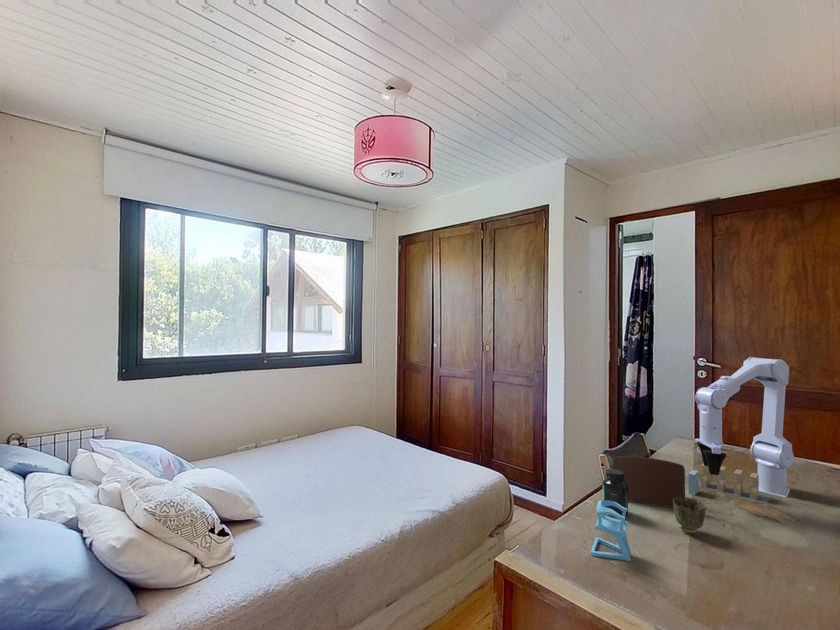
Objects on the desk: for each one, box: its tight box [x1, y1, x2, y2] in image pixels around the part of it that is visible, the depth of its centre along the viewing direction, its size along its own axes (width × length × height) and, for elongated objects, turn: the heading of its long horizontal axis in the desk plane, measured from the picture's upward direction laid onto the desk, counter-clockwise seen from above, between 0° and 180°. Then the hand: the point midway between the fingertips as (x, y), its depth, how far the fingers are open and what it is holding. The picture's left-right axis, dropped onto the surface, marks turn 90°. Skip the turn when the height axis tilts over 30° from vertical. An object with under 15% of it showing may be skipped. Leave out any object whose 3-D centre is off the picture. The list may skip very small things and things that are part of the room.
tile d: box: [748, 472, 760, 501], centre depth 129 cm, size 2×5×7 cm, turn 132°
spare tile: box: [688, 469, 699, 496], centre depth 133 cm, size 2×5×7 cm, turn 132°
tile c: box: [733, 469, 744, 497], centre depth 132 cm, size 2×5×7 cm, turn 133°
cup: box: [673, 496, 707, 536], centre depth 109 cm, size 8×7×8 cm
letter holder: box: [611, 455, 686, 509], centre depth 130 cm, size 10×20×14 cm, turn 66°
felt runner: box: [685, 475, 771, 505], centre depth 137 cm, size 7×26×1 cm, turn 43°
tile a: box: [700, 463, 711, 489], centre depth 139 cm, size 2×5×7 cm, turn 132°
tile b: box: [716, 465, 727, 493], centre depth 136 cm, size 2×5×7 cm, turn 132°
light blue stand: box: [590, 499, 632, 562], centre depth 99 cm, size 8×8×12 cm
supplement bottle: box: [601, 468, 629, 518], centre depth 120 cm, size 7×7×12 cm
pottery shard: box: [730, 499, 797, 526], centre depth 120 cm, size 8×16×2 cm, turn 14°
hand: (711, 470), depth 128 cm, fingers open, 7 cm apart
